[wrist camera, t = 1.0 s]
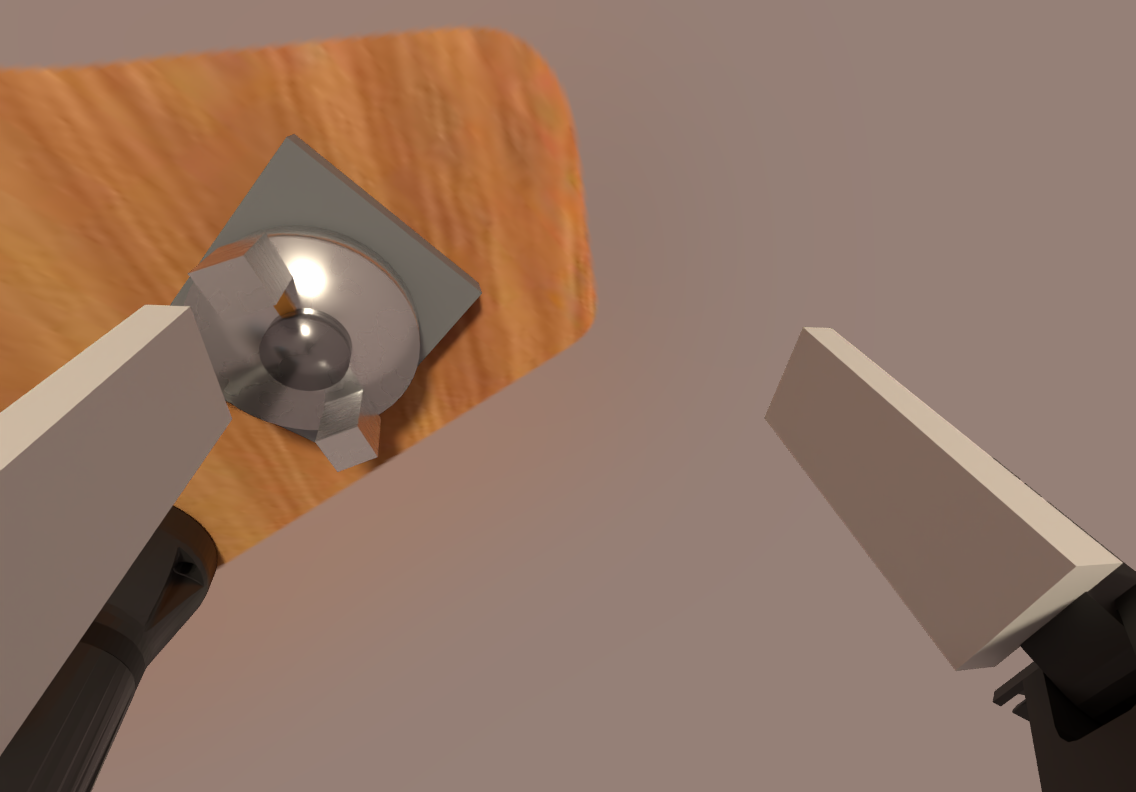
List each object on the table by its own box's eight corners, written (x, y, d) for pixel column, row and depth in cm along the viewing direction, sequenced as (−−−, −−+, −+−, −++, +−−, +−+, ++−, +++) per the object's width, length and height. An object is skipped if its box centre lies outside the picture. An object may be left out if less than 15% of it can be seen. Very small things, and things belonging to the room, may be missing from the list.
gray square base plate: (343, 437, 37) (339, 458, 35) (148, 343, 30) (128, 362, 28) (478, 282, 33) (483, 296, 31) (294, 133, 26) (284, 138, 24)
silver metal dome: (349, 434, 34) (338, 500, 29) (158, 340, 28) (97, 402, 22) (456, 312, 32) (467, 359, 26) (273, 176, 25) (236, 201, 20)
